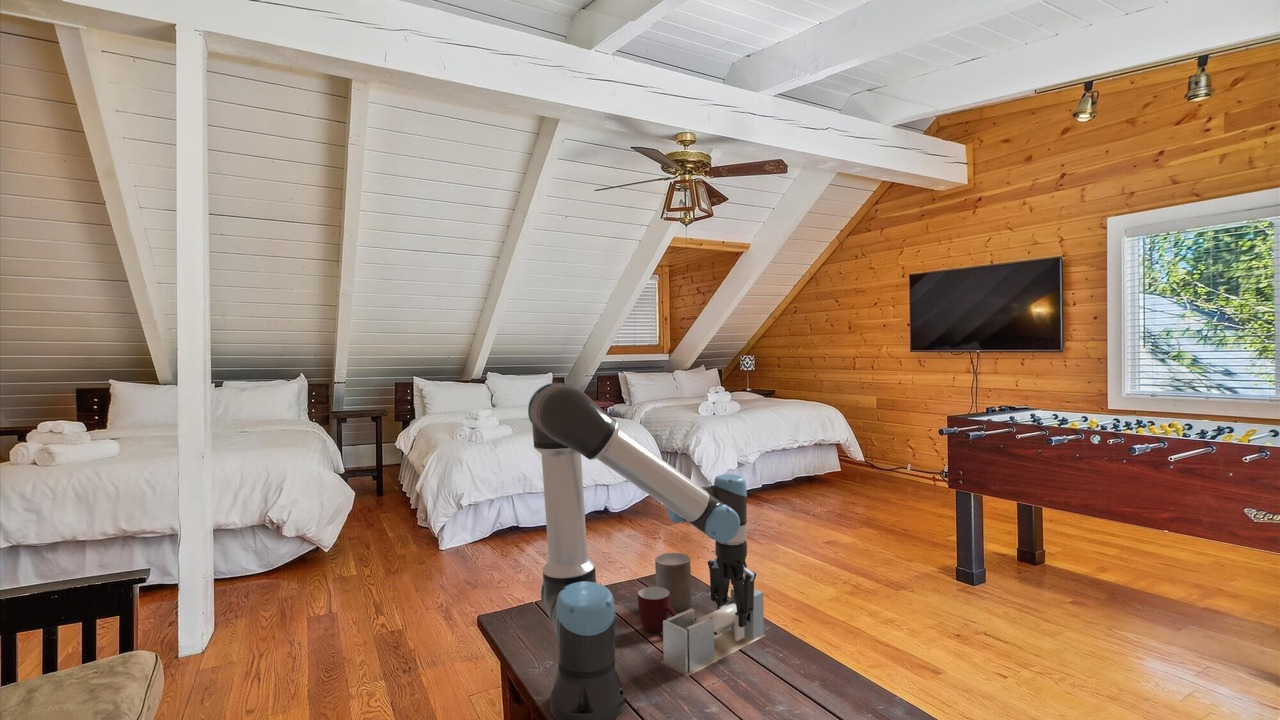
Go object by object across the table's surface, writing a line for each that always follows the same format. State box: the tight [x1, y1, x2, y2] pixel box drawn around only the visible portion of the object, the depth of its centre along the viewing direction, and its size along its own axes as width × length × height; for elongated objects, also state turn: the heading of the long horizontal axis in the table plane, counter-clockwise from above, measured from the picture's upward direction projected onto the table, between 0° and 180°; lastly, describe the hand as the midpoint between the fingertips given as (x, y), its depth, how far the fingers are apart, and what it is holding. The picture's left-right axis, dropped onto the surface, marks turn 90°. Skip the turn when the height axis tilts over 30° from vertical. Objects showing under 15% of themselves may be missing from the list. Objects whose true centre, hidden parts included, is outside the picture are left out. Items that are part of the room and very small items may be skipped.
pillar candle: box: [654, 552, 693, 616], centre depth 178 cm, size 10×10×15 cm
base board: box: [660, 627, 766, 677], centre depth 154 cm, size 28×8×1 cm, turn 131°
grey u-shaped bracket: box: [662, 608, 715, 676], centre depth 148 cm, size 9×7×10 cm
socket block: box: [730, 587, 765, 640], centre depth 162 cm, size 4×7×10 cm, turn 41°
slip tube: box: [693, 600, 750, 633], centre depth 156 cm, size 18×5×5 cm, turn 131°
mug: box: [637, 586, 677, 634], centre depth 164 cm, size 11×8×10 cm
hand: (732, 635), depth 158 cm, fingers closed on slip tube, 4 cm apart
